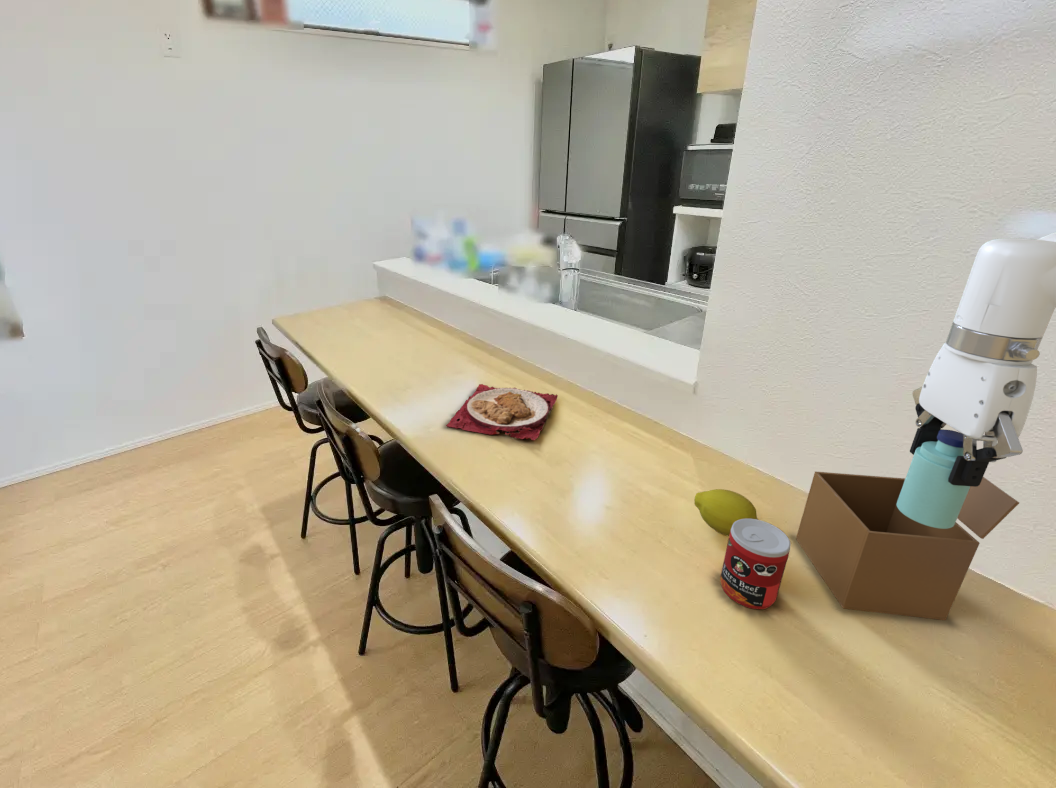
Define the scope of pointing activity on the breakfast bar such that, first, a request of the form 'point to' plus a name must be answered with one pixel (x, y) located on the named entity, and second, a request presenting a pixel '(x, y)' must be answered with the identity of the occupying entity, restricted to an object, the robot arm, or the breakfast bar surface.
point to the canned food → (754, 563)
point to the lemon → (723, 509)
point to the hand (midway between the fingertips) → (942, 467)
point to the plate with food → (504, 412)
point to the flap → (985, 508)
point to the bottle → (934, 483)
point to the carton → (881, 548)
